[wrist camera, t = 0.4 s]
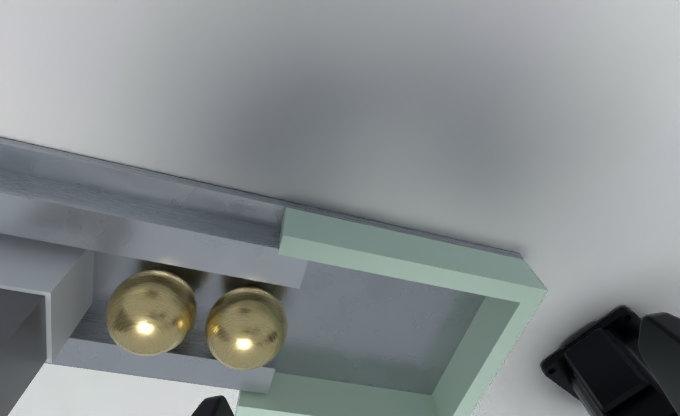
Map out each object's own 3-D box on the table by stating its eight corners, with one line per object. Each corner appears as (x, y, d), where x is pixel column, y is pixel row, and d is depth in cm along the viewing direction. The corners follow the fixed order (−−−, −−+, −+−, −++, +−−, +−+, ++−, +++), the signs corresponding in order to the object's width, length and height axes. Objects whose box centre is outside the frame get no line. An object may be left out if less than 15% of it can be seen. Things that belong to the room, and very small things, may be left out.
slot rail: (519, 253, 23) (540, 280, 21) (437, 399, 29) (447, 433, 26) (-32, 129, 18) (-76, 149, 16) (-11, 333, 24) (-43, 368, 22)
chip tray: (524, 259, 23) (548, 290, 21) (439, 407, 28) (451, 445, 26) (285, 206, 21) (282, 235, 18) (241, 379, 26) (234, 418, 23)
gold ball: (296, 278, 23) (294, 333, 19) (280, 334, 24) (275, 393, 21) (220, 263, 22) (202, 317, 18) (208, 322, 24) (190, 382, 20)
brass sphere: (210, 262, 22) (191, 316, 18) (199, 320, 23) (180, 380, 20) (127, 246, 21) (90, 299, 17) (122, 308, 23) (88, 368, 19)
